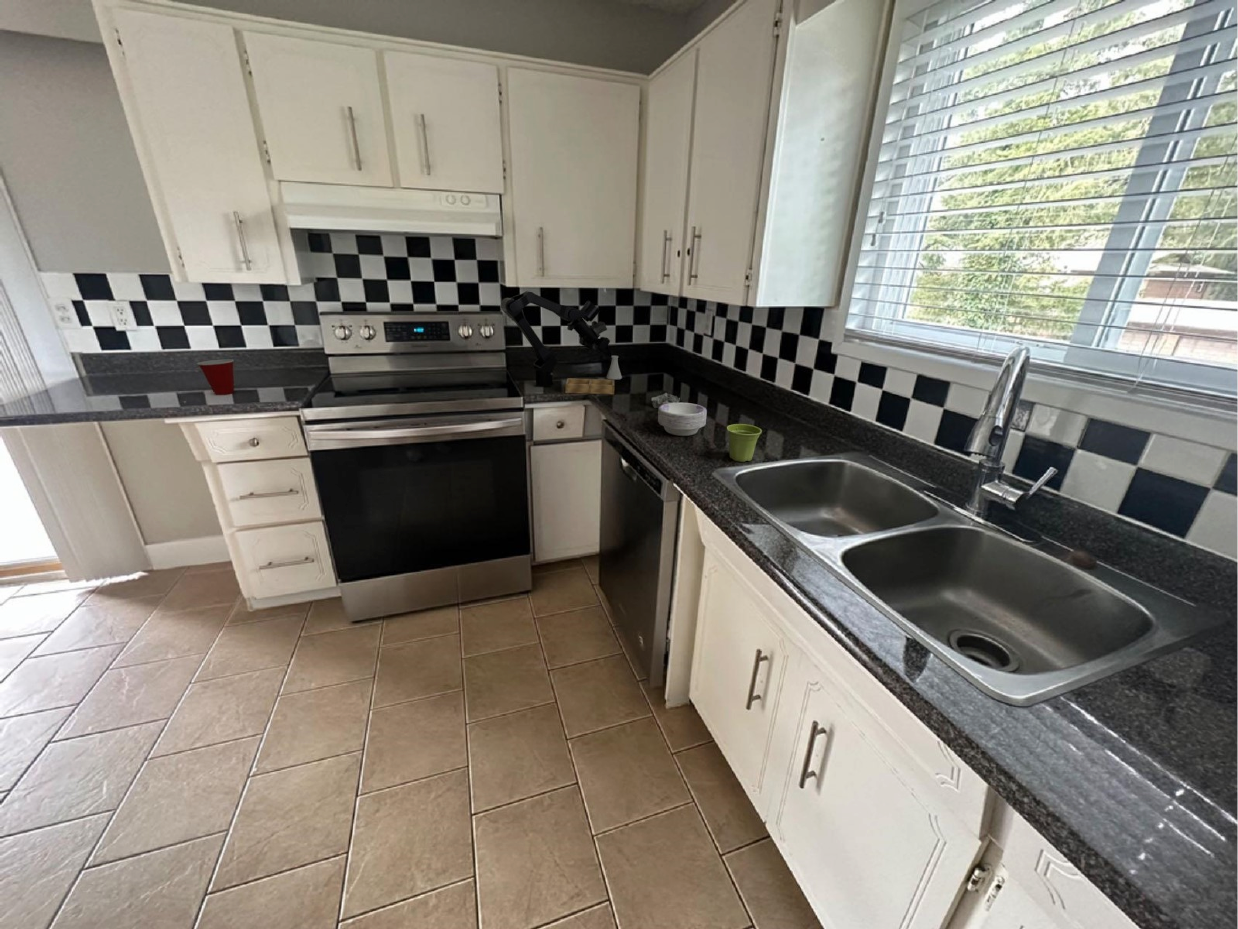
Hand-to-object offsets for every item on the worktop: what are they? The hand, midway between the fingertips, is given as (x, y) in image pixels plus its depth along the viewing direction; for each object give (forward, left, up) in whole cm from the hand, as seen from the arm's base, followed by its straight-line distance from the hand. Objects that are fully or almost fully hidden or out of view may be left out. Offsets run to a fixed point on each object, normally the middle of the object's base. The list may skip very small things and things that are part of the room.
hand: (605, 354), depth 222 cm
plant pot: (+39, -94, -11) cm, 102 cm away
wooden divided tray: (-6, -22, -11) cm, 25 cm away
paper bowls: (+25, -72, -11) cm, 77 cm away
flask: (+4, +2, -11) cm, 12 cm away
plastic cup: (-140, -42, -11) cm, 147 cm away
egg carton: (+23, -42, -11) cm, 49 cm away
